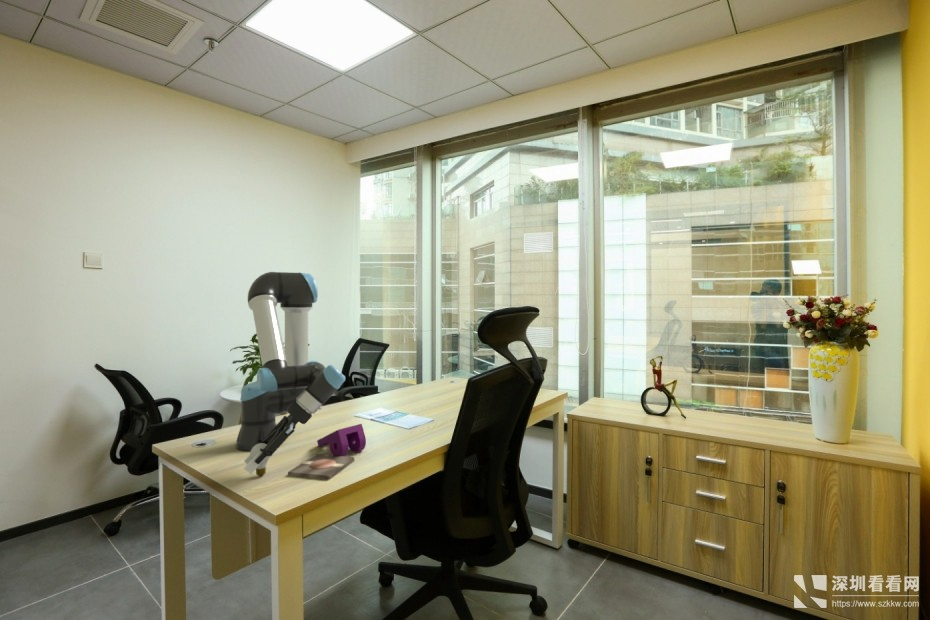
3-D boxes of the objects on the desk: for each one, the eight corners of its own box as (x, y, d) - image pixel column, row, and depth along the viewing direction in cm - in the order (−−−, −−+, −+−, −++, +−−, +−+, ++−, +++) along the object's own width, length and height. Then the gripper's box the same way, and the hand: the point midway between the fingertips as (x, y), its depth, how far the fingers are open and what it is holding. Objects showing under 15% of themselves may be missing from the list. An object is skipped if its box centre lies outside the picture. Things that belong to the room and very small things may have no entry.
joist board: (288, 475, 135) (288, 471, 135) (316, 457, 150) (316, 453, 150) (329, 479, 132) (329, 475, 131) (354, 460, 147) (354, 456, 147)
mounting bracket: (318, 466, 158) (344, 455, 147) (312, 443, 161) (337, 429, 150) (341, 459, 166) (368, 447, 155) (335, 436, 168) (361, 423, 157)
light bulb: (247, 475, 135) (247, 443, 134) (267, 470, 139) (266, 439, 138) (254, 481, 130) (253, 448, 130) (274, 476, 134) (274, 443, 134)
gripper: (317, 422, 132) (257, 486, 126) (309, 408, 149) (256, 464, 142) (298, 406, 130) (236, 470, 123) (292, 394, 147) (238, 450, 140)
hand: (247, 467), depth 133 cm, fingers closed on light bulb, 6 cm apart
